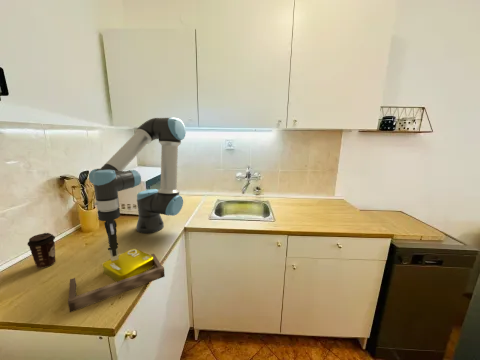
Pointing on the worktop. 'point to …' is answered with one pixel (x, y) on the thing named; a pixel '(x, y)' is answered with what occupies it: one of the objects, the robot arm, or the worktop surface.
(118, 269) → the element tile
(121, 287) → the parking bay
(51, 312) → the worktop surface
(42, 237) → the coffee cup
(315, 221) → the worktop surface
